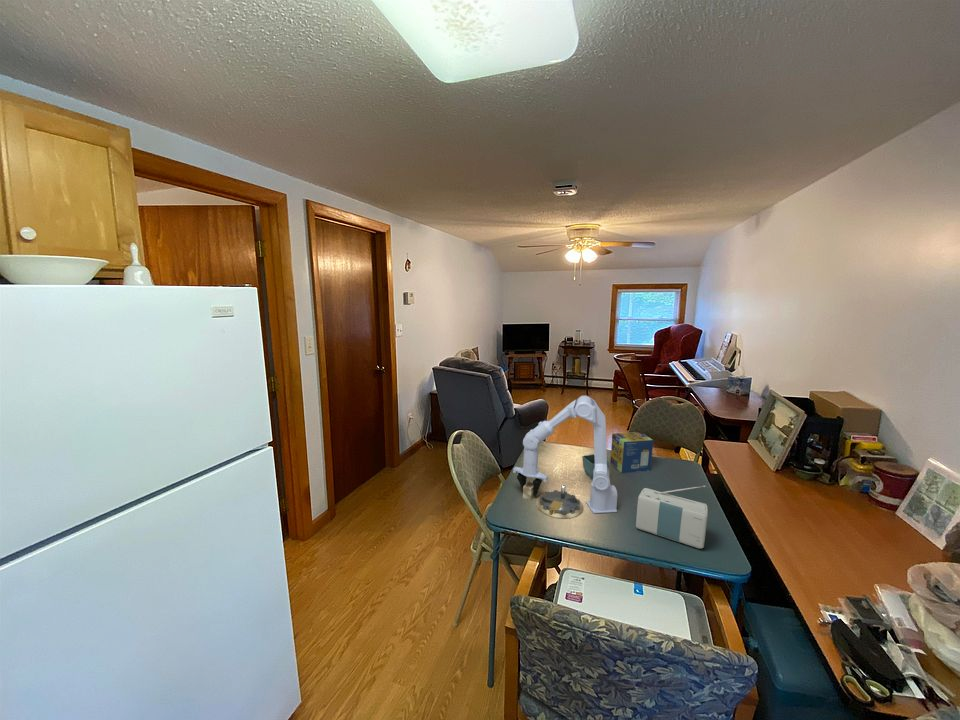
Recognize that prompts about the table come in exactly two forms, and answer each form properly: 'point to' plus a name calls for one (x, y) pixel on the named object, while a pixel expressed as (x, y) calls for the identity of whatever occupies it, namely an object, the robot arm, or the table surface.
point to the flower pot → (590, 464)
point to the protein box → (631, 452)
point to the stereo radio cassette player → (672, 517)
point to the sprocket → (560, 501)
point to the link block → (528, 491)
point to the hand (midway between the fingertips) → (529, 493)
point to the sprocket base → (557, 515)
